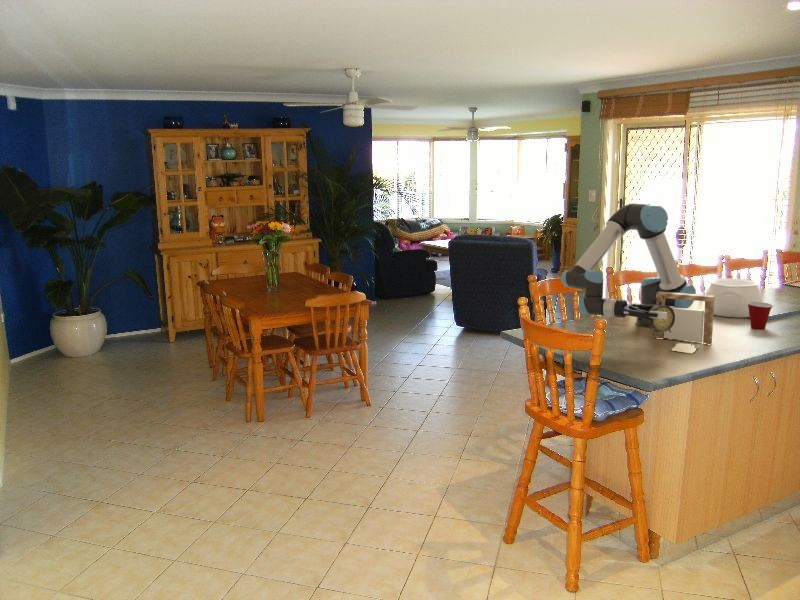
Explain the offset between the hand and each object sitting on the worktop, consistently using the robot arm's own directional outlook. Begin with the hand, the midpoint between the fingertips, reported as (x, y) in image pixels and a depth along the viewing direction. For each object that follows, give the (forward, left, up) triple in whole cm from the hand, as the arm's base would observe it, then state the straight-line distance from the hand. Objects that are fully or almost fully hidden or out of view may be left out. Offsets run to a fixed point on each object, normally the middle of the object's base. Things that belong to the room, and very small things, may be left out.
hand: (670, 312), depth 278 cm
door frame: (0, +24, -18) cm, 30 cm away
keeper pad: (+4, +12, -18) cm, 22 cm away
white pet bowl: (+8, +91, -18) cm, 93 cm away
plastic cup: (+24, +63, -18) cm, 70 cm away
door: (0, +24, -17) cm, 29 cm away
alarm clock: (-4, 0, -9) cm, 10 cm away
